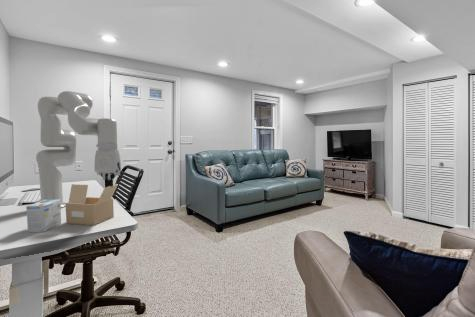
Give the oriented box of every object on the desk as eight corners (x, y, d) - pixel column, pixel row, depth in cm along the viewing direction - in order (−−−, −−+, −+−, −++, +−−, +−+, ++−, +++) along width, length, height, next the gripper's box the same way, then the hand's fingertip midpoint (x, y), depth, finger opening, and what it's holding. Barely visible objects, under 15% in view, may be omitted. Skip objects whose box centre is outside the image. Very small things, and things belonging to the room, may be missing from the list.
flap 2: (104, 187, 103) (105, 187, 103) (117, 184, 111) (118, 184, 111) (97, 202, 104) (97, 203, 104) (110, 198, 112) (110, 198, 112)
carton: (65, 223, 106) (64, 203, 105) (88, 215, 118) (87, 196, 118) (94, 225, 103) (93, 204, 102) (114, 216, 115) (113, 198, 115)
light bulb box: (45, 223, 106) (44, 199, 105) (62, 223, 106) (61, 199, 106) (26, 232, 95) (25, 205, 95) (45, 232, 96) (43, 205, 95)
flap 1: (69, 202, 105) (68, 202, 104) (72, 184, 106) (71, 184, 106) (84, 203, 103) (84, 203, 103) (88, 185, 105) (87, 184, 104)
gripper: (86, 147, 104) (87, 189, 105) (117, 147, 101) (118, 190, 102) (99, 146, 111) (100, 186, 113) (128, 147, 108) (129, 187, 110)
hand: (109, 188), depth 107 cm, fingers closed
